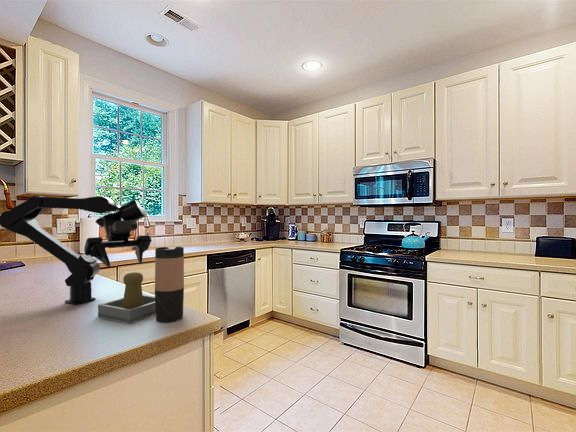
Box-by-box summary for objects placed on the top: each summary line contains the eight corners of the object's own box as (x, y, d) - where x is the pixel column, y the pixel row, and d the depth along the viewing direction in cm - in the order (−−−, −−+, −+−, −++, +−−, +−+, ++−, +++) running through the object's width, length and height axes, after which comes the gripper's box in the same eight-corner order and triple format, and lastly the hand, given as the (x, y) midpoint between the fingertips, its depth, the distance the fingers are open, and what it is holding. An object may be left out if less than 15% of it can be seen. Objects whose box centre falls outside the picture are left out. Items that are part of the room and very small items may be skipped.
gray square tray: (98, 317, 84) (98, 304, 84) (137, 304, 95) (137, 293, 95) (129, 323, 78) (129, 310, 78) (167, 309, 90) (167, 298, 90)
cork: (117, 311, 86) (117, 273, 86) (136, 305, 91) (136, 270, 91) (130, 314, 83) (130, 275, 83) (148, 308, 88) (149, 272, 88)
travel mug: (166, 325, 77) (166, 250, 77) (148, 319, 81) (149, 248, 81) (189, 317, 84) (189, 247, 84) (172, 312, 88) (172, 246, 88)
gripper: (86, 211, 89) (96, 250, 81) (149, 212, 103) (162, 245, 95) (80, 235, 94) (88, 274, 87) (141, 233, 108) (153, 267, 100)
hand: (125, 264), depth 92 cm, fingers open, 9 cm apart
